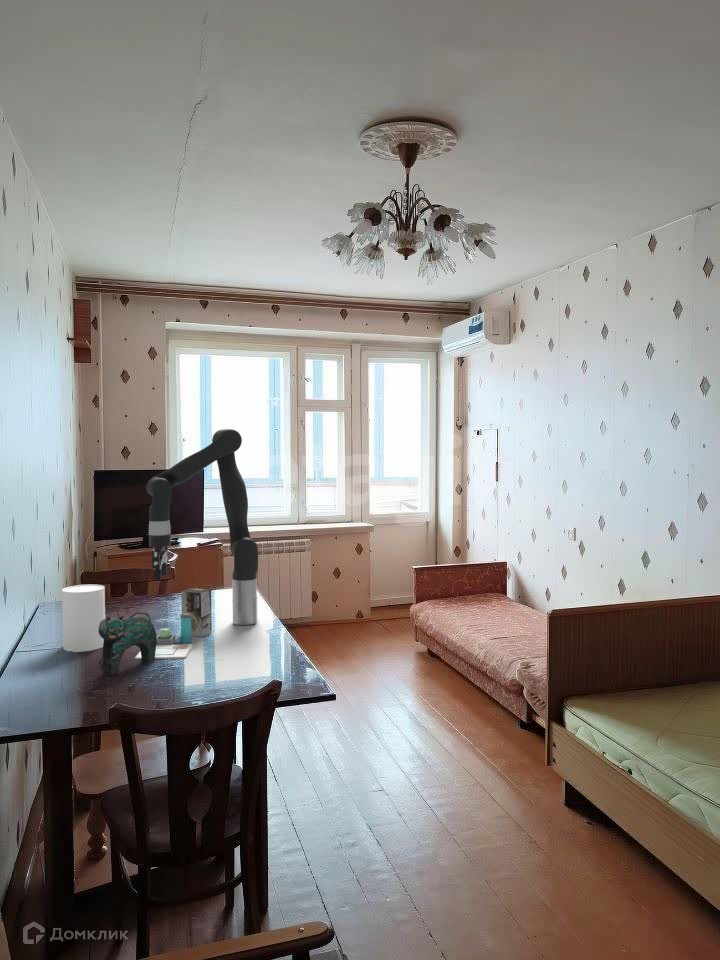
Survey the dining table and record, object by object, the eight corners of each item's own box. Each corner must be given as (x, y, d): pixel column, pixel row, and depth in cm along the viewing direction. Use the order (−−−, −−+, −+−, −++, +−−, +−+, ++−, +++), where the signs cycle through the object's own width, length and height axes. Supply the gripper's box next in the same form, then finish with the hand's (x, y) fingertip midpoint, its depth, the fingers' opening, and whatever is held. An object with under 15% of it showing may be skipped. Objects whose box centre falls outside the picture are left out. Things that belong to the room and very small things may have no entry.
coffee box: (212, 633, 259) (212, 589, 258) (201, 637, 253) (201, 592, 253) (192, 630, 263) (191, 587, 262) (181, 634, 257) (180, 590, 256)
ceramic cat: (108, 678, 209) (107, 611, 208) (94, 674, 212) (92, 608, 211) (160, 661, 226) (159, 599, 225) (146, 657, 229) (145, 596, 228)
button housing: (175, 641, 248) (175, 634, 248) (172, 646, 242) (172, 639, 242) (158, 641, 248) (157, 634, 248) (154, 646, 242) (154, 639, 242)
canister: (98, 651, 236) (97, 592, 235) (57, 652, 236) (56, 592, 235) (110, 640, 250) (109, 584, 249) (71, 641, 249) (69, 584, 248)
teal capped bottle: (192, 640, 249) (192, 612, 249) (190, 643, 245) (190, 615, 245) (181, 640, 249) (181, 612, 248) (179, 643, 245) (179, 615, 245)
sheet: (192, 646, 242) (192, 644, 242) (185, 658, 228) (185, 656, 228) (145, 647, 241) (144, 645, 241) (134, 659, 227) (134, 657, 227)
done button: (171, 636, 247) (171, 628, 247) (169, 639, 243) (169, 630, 243) (160, 636, 247) (160, 628, 247) (158, 639, 243) (158, 631, 243)
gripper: (165, 535, 248) (166, 581, 249) (174, 530, 262) (175, 573, 263) (144, 535, 248) (145, 581, 249) (154, 530, 262) (155, 574, 263)
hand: (160, 577), depth 256 cm, fingers open, 8 cm apart
